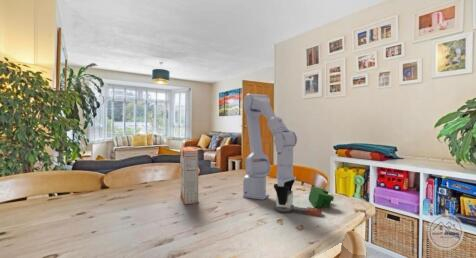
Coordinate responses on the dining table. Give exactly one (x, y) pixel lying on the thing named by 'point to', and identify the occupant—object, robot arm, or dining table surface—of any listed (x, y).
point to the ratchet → (300, 210)
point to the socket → (287, 201)
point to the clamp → (320, 197)
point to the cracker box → (189, 175)
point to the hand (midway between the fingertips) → (284, 201)
